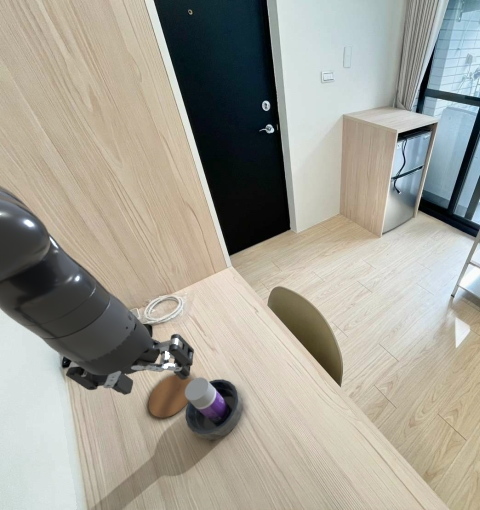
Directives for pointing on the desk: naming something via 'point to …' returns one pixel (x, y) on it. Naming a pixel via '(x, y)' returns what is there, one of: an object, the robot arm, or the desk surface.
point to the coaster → (169, 397)
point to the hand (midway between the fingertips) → (158, 381)
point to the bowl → (220, 429)
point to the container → (207, 399)
